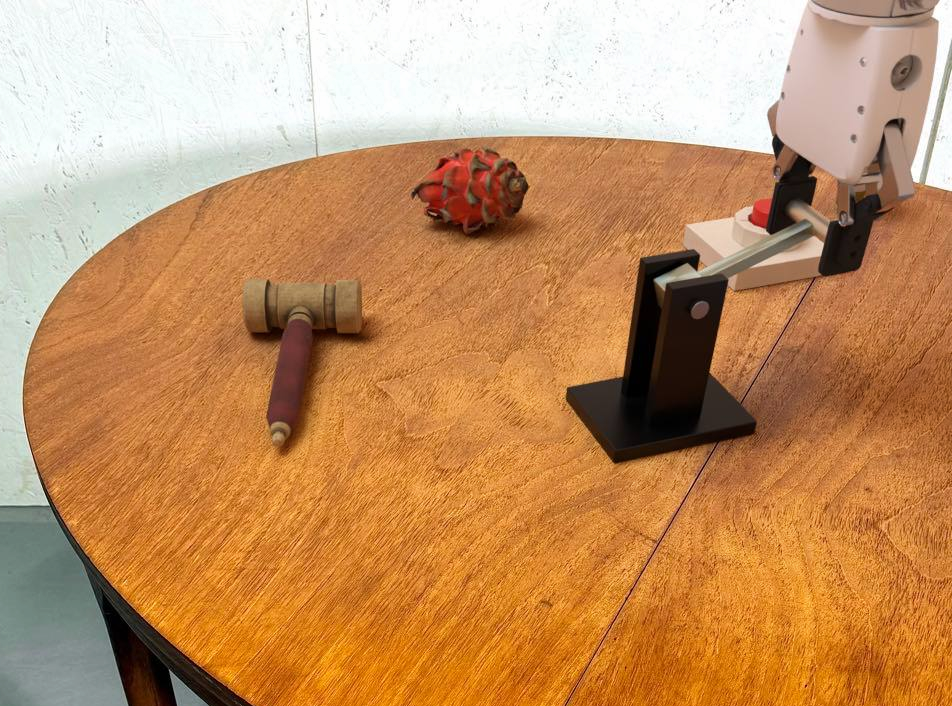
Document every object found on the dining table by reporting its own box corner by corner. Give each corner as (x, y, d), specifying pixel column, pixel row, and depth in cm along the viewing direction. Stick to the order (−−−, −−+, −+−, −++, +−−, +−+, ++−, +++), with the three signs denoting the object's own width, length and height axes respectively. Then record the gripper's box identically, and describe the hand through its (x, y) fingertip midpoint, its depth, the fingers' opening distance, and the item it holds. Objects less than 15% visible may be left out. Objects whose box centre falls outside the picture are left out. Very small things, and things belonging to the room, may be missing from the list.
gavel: (341, 421, 78) (207, 419, 79) (345, 467, 82) (216, 466, 82) (360, 269, 93) (247, 268, 93) (363, 314, 96) (253, 313, 97)
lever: (803, 216, 80) (800, 188, 78) (850, 251, 76) (849, 222, 74) (646, 293, 80) (640, 267, 78) (684, 332, 76) (680, 306, 74)
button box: (786, 228, 109) (795, 190, 106) (844, 271, 102) (855, 232, 99) (682, 245, 106) (688, 207, 104) (733, 291, 99) (742, 251, 97)
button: (775, 213, 103) (779, 196, 102) (796, 228, 101) (800, 211, 100) (742, 218, 103) (746, 201, 101) (763, 234, 100) (766, 216, 99)
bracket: (697, 373, 89) (725, 229, 80) (754, 433, 82) (792, 284, 74) (565, 399, 86) (580, 253, 78) (613, 463, 80) (636, 311, 71)
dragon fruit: (534, 243, 110) (420, 257, 112) (528, 169, 112) (416, 185, 114) (531, 201, 102) (408, 217, 104) (524, 122, 104) (403, 139, 106)
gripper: (1024, 15, 61) (930, 296, 73) (845, -54, 73) (790, 196, 85) (912, 31, 59) (835, 316, 71) (749, -43, 72) (706, 211, 84)
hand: (811, 248), depth 78 cm, fingers closed on lever, 6 cm apart
